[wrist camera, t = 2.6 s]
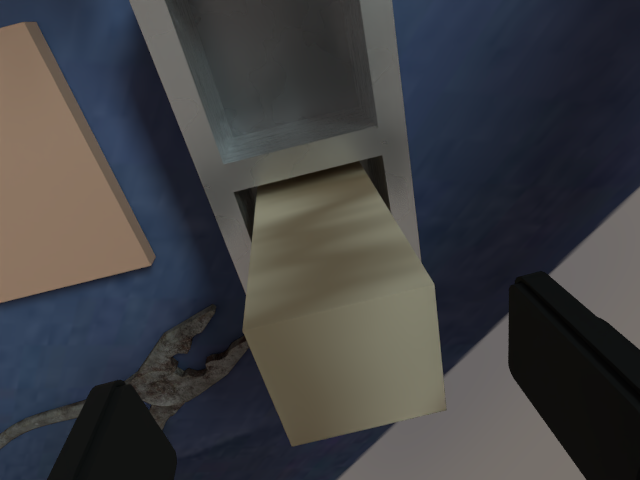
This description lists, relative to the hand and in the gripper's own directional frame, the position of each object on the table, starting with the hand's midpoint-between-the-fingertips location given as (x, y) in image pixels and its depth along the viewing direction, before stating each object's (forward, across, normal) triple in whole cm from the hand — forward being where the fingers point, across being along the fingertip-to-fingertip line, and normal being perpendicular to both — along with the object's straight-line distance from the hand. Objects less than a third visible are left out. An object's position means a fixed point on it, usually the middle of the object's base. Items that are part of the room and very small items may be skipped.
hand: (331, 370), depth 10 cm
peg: (+9, -1, 0) cm, 9 cm away
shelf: (+10, -1, 0) cm, 10 cm away
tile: (+10, +12, -4) cm, 16 cm away
